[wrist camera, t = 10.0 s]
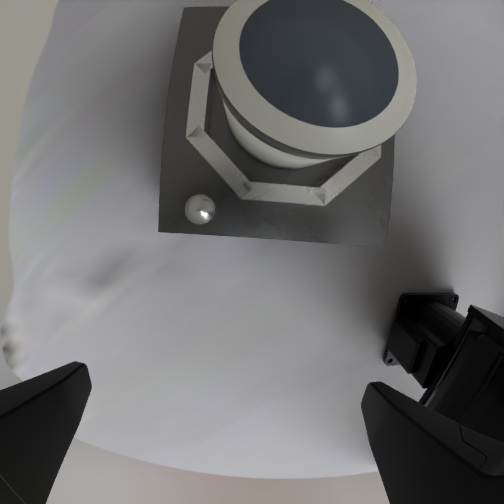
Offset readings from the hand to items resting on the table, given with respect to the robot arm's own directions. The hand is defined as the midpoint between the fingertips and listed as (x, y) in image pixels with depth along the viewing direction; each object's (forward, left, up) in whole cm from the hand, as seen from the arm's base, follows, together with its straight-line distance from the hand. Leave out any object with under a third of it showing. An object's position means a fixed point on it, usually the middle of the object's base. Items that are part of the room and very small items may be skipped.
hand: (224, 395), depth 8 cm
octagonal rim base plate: (-2, -10, -12) cm, 16 cm away
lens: (-2, -10, -8) cm, 13 cm away
